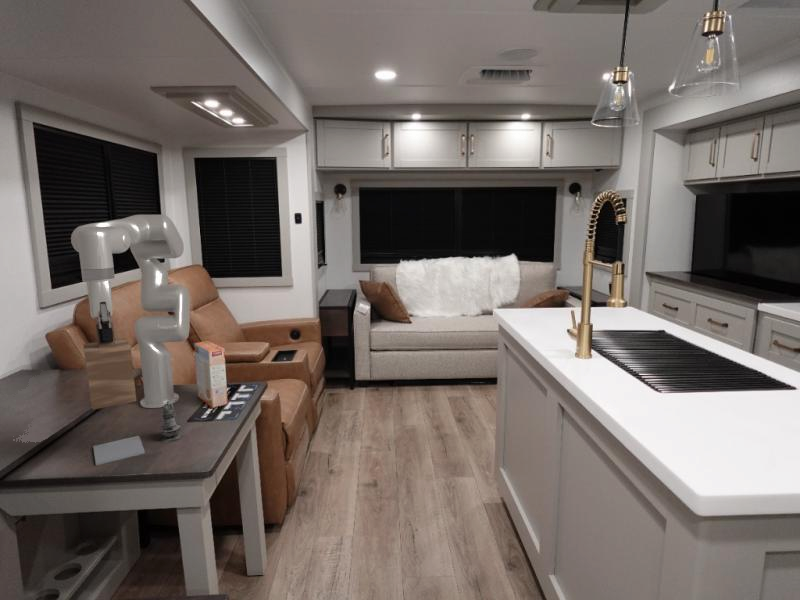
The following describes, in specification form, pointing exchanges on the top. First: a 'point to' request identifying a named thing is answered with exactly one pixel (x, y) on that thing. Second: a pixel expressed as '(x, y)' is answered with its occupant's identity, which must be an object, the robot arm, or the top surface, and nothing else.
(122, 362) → the walnut cover
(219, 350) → the cracker box
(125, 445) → the slate mat
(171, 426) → the grey ridged tall piece
